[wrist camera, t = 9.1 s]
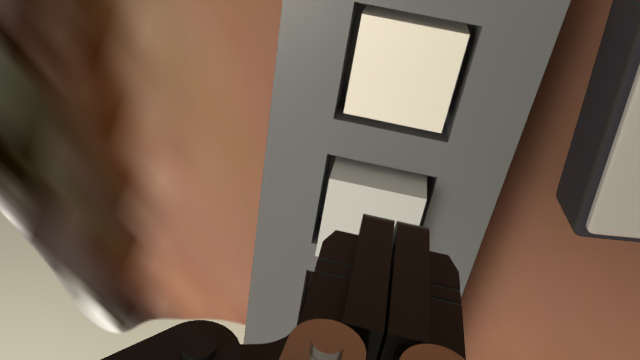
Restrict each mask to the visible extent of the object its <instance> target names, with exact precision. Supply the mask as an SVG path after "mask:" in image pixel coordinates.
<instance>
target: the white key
mask: <svg viewBox="0 0 640 360" xmlns="http://www.w3.org/2000/svg"><path fill="white" fill-rule="evenodd" d="M469 36H470V34H469V30H468V26H467V23H462V22H457V21H452V20H447V19H441V18H436V17H431V16H426V15H421V14H416V13H410V12H405V11H400V10H395V9H390V8H384V7H379V6H374V5H369V4H366V6H365V8H364V10H363V13H362V16H361V21H360V27H359V32H358V37H357V43H356V48H355V54H354V59H353V64H352V70H351V75H350V80H349V86H348V91H347V96H346V102H345V107H344V113H346V114H350V115H355V116H360V117H365V118H370V119H374V120H379V121H384V122H389V123H394V124H399V125H403V126H408V127H413V128H418V129H423V130H428V131H432V132H437V133H442V129H443V126H444V122H445V119H446V116H447V112H448V109H449V105H450V102H451V98H452V95H453V91H454V88H455V84H456V81H457V77H458V74H459V71H460V67H461V64H462V60H463V57H464V53H465V50H466V46H467V43H468V39H469Z"/></svg>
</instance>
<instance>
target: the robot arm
mask: <svg viewBox="0 0 640 360" xmlns="http://www.w3.org/2000/svg"><path fill="white" fill-rule="evenodd" d="M394 225H395V220H390V219H386V218H381V217H377V216H372V215H368V214H363V217H362V221H361V225H360V230H359V234H358V235H356V234H352V233H347V232H343V231H338V230H335V231H334V232H333V233H332V234H331V235H329V236H328V237H327V238H326V239H325V240H324V241H323V242H322V246H321V249H320V253H319V256H318V260H317V263H316V267H315V270H314V274H313V277H312V280H311V284H310V287H309V291H308V294H307V298H306V301H305V305H304V308H303V312H302V315H301V318H300V321H299V323H298V325H297V326H296V327H295V328H294V329H293V330H292V331H291V333H290V334H289V335H287V336H286V337H284V338H282V339H280V340H277V341H274V342H270V343H264V344H243V345H241V344H240V343H239V341H238V339H237V337H236V336H235V335H234V333H233V332H231V331H230V330H229V329H228V328H226V327H225V326H223V325H220V324H218V323H215V322H211V321H205V320H195V321H188V322H184V323H181V324H178V325H176V326H174V327H171V328H169V329H167V330H165V331H163V332H161V333H158V334H156V335H154V336H152V337H150V338H147V339H145V340H143V341H141V342H138V343H136V344H134V345H132V346H130V347H128V348H126V349H123V350H121V351H119V352H117V353H114V354H112V355H110V356H108V357H105V358H103V359H101V360H466V357H465V344H464V331H463V318H462V306H461V292H460V278H459V271H458V269H457V268H456V266H455V265H454V263H453V262H452V260H451V258H450V257H449V255H446V254H441V253H437V252H433V251H430V230H429V228H427V227H423V226H418V225H414V224H409V223H405V222H400V221H397V222H396V225H395V228H394Z"/></svg>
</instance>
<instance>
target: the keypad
mask: <svg viewBox="0 0 640 360" xmlns="http://www.w3.org/2000/svg"><path fill="white" fill-rule="evenodd" d="M570 1H571V0H283V4H282V13H281V22H280V30H279V39H278V48H277V57H276V65H275V74H274V83H273V92H272V100H271V109H270V118H269V127H268V135H267V144H266V153H265V162H264V170H263V179H262V188H261V196H260V205H259V214H258V223H257V231H256V240H255V249H254V258H253V266H252V275H251V284H250V293H249V301H248V310H247V319H246V328H245V337H244V344H264V343H270V342H274V341H277V340H280V339H282V338H284V337H286V336H287V335H289V334H290V333H291V331H292V330H293V329H294V328H295V327H296V326H297V325H298V323H299V321H300V318H301V315H302V312H303V308H304V305H305V301H306V298H307V294H308V291H309V287H310V284H311V280H312V277H313V274H314V270H315V267H316V263H317V260H318V257H317V256H315V253H316V248H317V242H318V237H319V232H320V226H321V221H322V215H323V210H324V205H325V199H326V194H327V188H328V183H329V178H330V175H331V172H332V168H333V165H334V162H335V159H336V156H339V157H344V158H348V159H353V160H358V161H362V162H367V163H372V164H376V165H381V166H386V167H391V168H395V169H400V170H405V171H409V172H414V173H419V174H423V175H427V201H426V204H425V208H424V211H423V214H422V218H421V221H420V225H419V226H423V227H427V228H429V230H430V251H433V252H437V253H441V254H446V255H449V257H450V258H451V260H452V262H453V263H454V265H455V266H456V268H457V269H458V271H459V278H460V292H461V297H462V294H463V291H464V289H465V286H466V283H467V280H468V278H469V275H470V272H471V270H472V267H473V264H474V261H475V259H476V256H477V253H478V251H479V248H480V245H481V242H482V240H483V237H484V234H485V232H486V229H487V226H488V224H489V221H490V218H491V215H492V213H493V210H494V207H495V205H496V202H497V199H498V196H499V194H500V191H501V188H502V186H503V183H504V180H505V177H506V175H507V172H508V169H509V167H510V164H511V161H512V159H513V156H514V153H515V150H516V148H517V145H518V142H519V140H520V137H521V134H522V131H523V129H524V126H525V123H526V121H527V118H528V115H529V112H530V110H531V107H532V104H533V102H534V99H535V96H536V94H537V91H538V88H539V85H540V83H541V80H542V77H543V75H544V72H545V69H546V66H547V64H548V61H549V58H550V56H551V53H552V50H553V47H554V45H555V42H556V39H557V37H558V34H559V31H560V29H561V26H562V23H563V20H564V18H565V15H566V12H567V10H568V7H569V4H570ZM366 4H369V5H374V6H379V7H384V8H390V9H395V10H400V11H405V12H410V13H416V14H421V15H426V16H431V17H436V18H441V19H447V20H452V21H457V22H462V23H467V26H468V30H469V34H470V36H469V39H468V43H467V46H466V50H465V53H464V57H463V60H462V64H461V67H460V71H459V74H458V77H457V81H456V84H455V88H454V91H453V95H452V98H451V102H450V105H449V109H448V112H447V116H446V119H445V122H444V126H443V129H442V133H437V132H432V131H428V130H423V129H418V128H413V127H408V126H403V125H399V124H394V123H389V122H384V121H379V120H374V119H370V118H365V117H360V116H355V115H350V114H346V113H344V107H345V102H346V96H347V91H348V86H349V80H350V75H351V70H352V64H353V59H354V54H355V48H356V43H357V37H358V32H359V27H360V21H361V16H362V13H363V10H364V8H365V6H366Z"/></svg>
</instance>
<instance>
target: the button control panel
mask: <svg viewBox="0 0 640 360" xmlns="http://www.w3.org/2000/svg"><path fill="white" fill-rule="evenodd" d="M556 197H557V199H558V202H559V204H560V206H561V208H562V209H563V211H564V213H565V215H566V217H567V219H568V221H569V223H570V225H571V227H572V229H573V231H574V233H575V234H577V235H579V236H584V237H593V238H603V239H613V240H623V241H633V242H640V0H613V3H612V6H611V10H610V13H609V16H608V20H607V23H606V27H605V30H604V33H603V37H602V40H601V44H600V47H599V50H598V54H597V57H596V60H595V64H594V67H593V71H592V74H591V77H590V81H589V84H588V88H587V91H586V94H585V98H584V101H583V104H582V108H581V111H580V115H579V118H578V121H577V125H576V128H575V132H574V135H573V138H572V142H571V145H570V149H569V152H568V155H567V159H566V162H565V165H564V169H563V172H562V176H561V179H560V182H559V186H558V189H557V193H556Z"/></svg>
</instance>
